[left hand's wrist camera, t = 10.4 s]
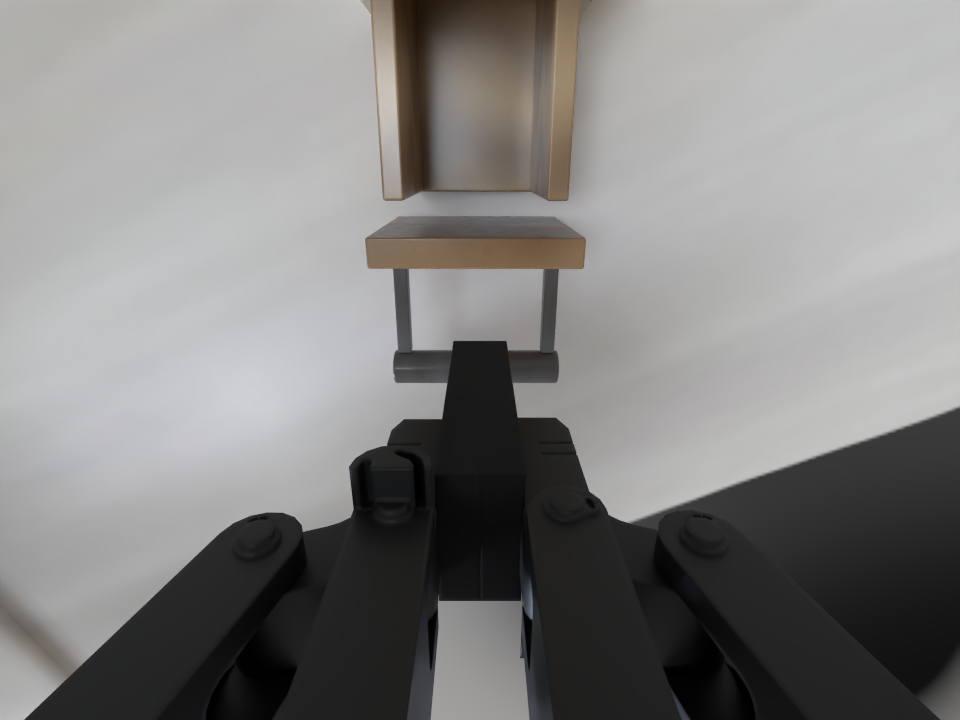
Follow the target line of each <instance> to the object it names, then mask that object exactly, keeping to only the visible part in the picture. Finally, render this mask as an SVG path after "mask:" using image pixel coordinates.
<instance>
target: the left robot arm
mask: <svg viewBox="0 0 960 720" xmlns="http://www.w3.org/2000/svg"><path fill="white" fill-rule="evenodd" d="M349 470H350V479H351V488H352V497H353V506H354V510H353V513H352V516H351V518H349V519H347V520H345V521H342V522H340V523H338V524H334V525H331V526H328V527H323V528H319V529H314V530H310V531H305V532H303V531H302V525H301V524H300V523H299V522H298V521H297V519H296V518H295V517H292V516H290V515H287V514H284V513H263V514H258V515H253V516H249V517H247V518H245V519H242V520H240V521H238V522H236V523H233V524H232V525H231V526H229V527H228V528H227V529H225V530H224V531H222V532H221V533H220V534H219V535H218V536H217V537H216V538H215V539H214V540H212V541H211V542H210V543H209V544H208V545H207V546H206V547H205V548H204V549H203V550H202V551H201V552H200V553H199V554H198V555H197V556H196V557H195V558H194V559H193V560H191V561H190V562H189V563H188V564H187V565H186V566H185V567H184V568H183V569H182V570H181V571H180V572H179V573H178V574H177V575H176V576H175V577H174V578H173V579H172V580H170V581H169V582H168V583H167V584H166V585H165V586H164V587H163V588H162V589H161V590H160V591H159V592H158V593H157V594H156V595H155V596H154V597H153V598H152V599H151V600H149V601H148V602H147V603H146V604H145V605H144V606H143V607H142V608H141V609H140V610H139V611H138V612H137V613H136V614H135V615H134V616H133V617H132V618H131V619H130V620H128V621H127V622H126V623H125V624H124V625H123V626H122V627H121V628H120V629H119V630H118V631H117V632H116V633H115V634H114V635H113V636H112V637H111V638H110V639H109V640H107V641H106V642H105V643H104V644H103V645H102V646H101V647H100V648H99V649H98V650H97V651H96V652H95V653H94V654H93V655H92V656H91V657H90V658H89V659H88V660H87V661H85V662H84V663H83V664H82V665H81V666H80V667H79V668H78V669H77V670H76V671H75V672H74V673H73V674H72V675H71V676H70V677H69V678H68V679H67V680H66V681H64V682H63V683H62V684H61V685H60V686H59V687H58V688H57V689H56V690H55V691H54V692H53V693H52V694H51V695H50V696H49V697H48V698H47V699H46V700H45V701H43V702H42V703H41V704H40V705H39V706H38V707H37V708H36V709H35V710H34V711H33V712H32V713H31V714H30V715H29V716H28V717H27V718H26V719H25V720H430V719H431V707H432V696H433V684H434V672H435V661H436V649H437V637H438V595H439V601H521V592H522V602H523V604H522V629H521V653H520V658H524V660H525V672H526V683H527V695H528V707H529V718H530V720H940V719H939V718H938V717H937V716H936V715H935V714H933V713H932V712H931V711H930V710H929V709H928V708H927V707H926V706H925V705H924V704H923V703H922V702H921V701H920V700H919V699H918V698H916V696H914V695H913V694H912V693H911V692H910V691H909V690H908V689H907V688H906V687H905V686H904V685H903V684H902V683H901V682H900V681H899V680H897V679H896V678H895V677H894V676H893V675H892V674H891V673H890V672H889V671H888V670H887V669H886V668H885V667H884V666H883V665H882V664H881V663H880V662H879V661H877V660H876V659H875V658H874V657H873V656H872V655H871V654H870V653H869V652H868V651H867V650H866V649H865V648H864V647H863V646H862V645H861V644H859V643H858V642H857V641H856V640H855V639H854V638H853V637H852V636H851V635H850V634H849V633H848V632H847V631H846V630H845V629H844V628H843V627H841V626H840V625H839V624H838V623H837V622H836V621H835V620H834V619H833V618H832V617H831V616H830V615H829V614H828V613H827V612H826V611H825V610H824V609H822V608H821V607H820V606H819V605H818V604H817V603H816V602H815V601H814V600H813V599H812V598H811V597H810V596H809V595H808V594H807V593H806V592H804V591H803V590H802V589H801V588H800V587H799V586H798V585H797V584H796V583H795V582H794V581H793V580H792V579H791V578H790V577H789V576H788V575H786V574H785V573H784V572H783V571H782V570H781V569H780V568H779V567H778V566H777V565H776V564H775V563H774V562H773V561H772V560H771V559H770V558H769V557H767V556H766V555H765V554H764V553H763V552H762V551H761V550H760V549H759V548H758V547H757V546H756V545H755V544H754V543H753V542H752V541H751V540H749V539H748V538H747V537H746V536H745V535H744V534H743V533H742V532H741V531H740V530H738V529H737V528H736V527H734V526H733V525H732V524H730V523H729V522H727V521H725V520H723V519H721V518H719V517H716V516H714V515H712V514H708V513H703V512H698V511H694V510H690V511H689V510H688V511H676V512H673V513H670V514H667V515H665V516H664V518H663V519H662V520H661V521H660V522H659V525H658V530H655V529H651V528H646V527H642V526H637V525H633V524H629V523H626V522H623V521H620V520H618V519H616V518H614V517H611V516H609V515H608V512H607V510H606V508H605V506H604V505H603V503H602V502H601V500H600V499H599V498H597V497H596V496H595V495H593V494H592V493H590V492H589V490H588V487H587V484H586V481H585V478H584V474H583V471H582V468H581V465H580V462H579V459H578V456H577V455H576V450H575V447H574V444H573V441H572V438H571V435H570V432H569V429H568V428H567V427H566V426H565V425H564V424H562V423H561V422H560V421H559V420H558V419H557V418H517V411H516V404H515V397H514V390H513V383H512V376H511V370H510V363H509V356H508V349H507V342H506V341H454V342H453V349H452V356H451V363H450V370H449V376H448V383H447V390H446V397H445V404H444V411H443V418H442V419H404V420H403V421H402V422H401V423H400V424H398V425H397V426H396V427H395V428H394V429H393V430H392V431H391V434H390V437H389V440H388V443H387V446H383V447H379V448H376V449H372V450H369V451H367V452H365V453H363V454H362V455H360V456H358V457H357V458H356V459H355V460H354V461H353V462H352V464H351V465H350V466H349Z"/></svg>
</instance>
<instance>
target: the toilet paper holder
mask: <svg viewBox="0 0 960 720" xmlns="http://www.w3.org/2000/svg"><path fill="white" fill-rule="evenodd" d="M370 5H371V20H372V36H373V51H374V67H375V82H376V98H377V113H378V129H379V144H380V160H381V175H382V191H383V199H384V200H385V201H402V200H404V199H406V198H409V197H411V196H413V195H415V194H417V193H419V192H421V191H531V192H533V193H535V194H537V195H539V196H541V197H542V198H544V199H546V200H548V201H567V200H568V193H569V177H570V160H571V144H572V128H573V111H574V95H575V79H576V62H577V46H578V30H579V13H580V0H370ZM365 242H366V254H367V267H368V268H369V269H393V272H394V289H395V306H396V322H397V339H398V350H397V351H396V352H395V354H394V361H393V372H394V379H395V382H396V383H448V376H449V370H450V363H451V356H452V350H412V328H411V308H410V287H409V269H544V270H543V291H542V313H541V334H540V350H508V356H509V363H510V370H511V376H512V383H556V382H557V380H558V374H559V360H558V354H557V351H555V350H554V341H555V323H556V306H557V289H558V271H559V269H582V268H583V267H584V257H585V244H586V239H585V238H584V237H583V236H581V235H580V234H578V233H577V232H575V231H574V230H573V229H571V228H570V227H568V226H567V225H565V224H564V223H563V222H561V221H560V220H558V219H557V218H555V217H398V218H396V219H394V220H393V221H391V222H390V223H388V224H387V225H385V226H384V227H382V228H381V229H379V230H377V231H376V232H374V233H373V234H371V235H370V236H368V237H367V238H366V239H365Z"/></svg>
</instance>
